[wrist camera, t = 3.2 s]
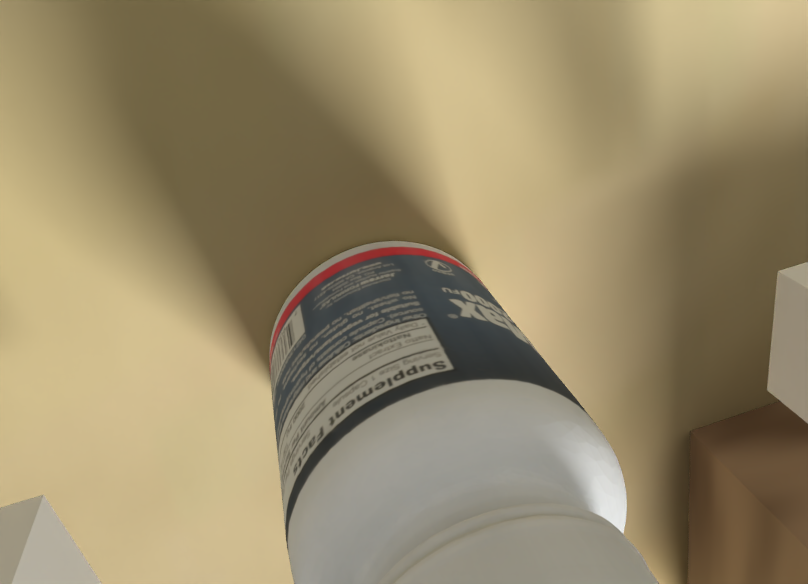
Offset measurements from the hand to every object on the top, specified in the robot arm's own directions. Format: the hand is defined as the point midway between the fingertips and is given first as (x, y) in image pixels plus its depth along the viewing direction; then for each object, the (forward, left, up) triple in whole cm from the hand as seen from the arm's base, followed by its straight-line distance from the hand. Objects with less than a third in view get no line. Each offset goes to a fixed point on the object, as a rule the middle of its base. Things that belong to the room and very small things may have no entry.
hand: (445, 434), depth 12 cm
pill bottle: (0, 0, -4) cm, 4 cm away
